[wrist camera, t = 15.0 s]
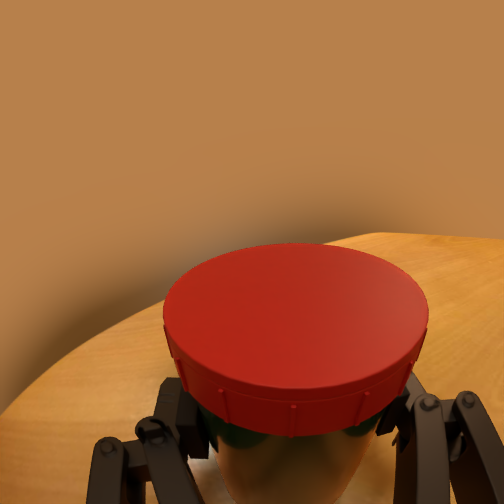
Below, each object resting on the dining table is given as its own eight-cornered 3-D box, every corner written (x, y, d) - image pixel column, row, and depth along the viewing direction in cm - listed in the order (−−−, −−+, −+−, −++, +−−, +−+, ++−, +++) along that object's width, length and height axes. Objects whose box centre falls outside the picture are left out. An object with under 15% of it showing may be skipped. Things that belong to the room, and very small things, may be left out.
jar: (197, 473, 13) (134, 312, 9) (277, 406, 18) (275, 245, 13) (299, 543, 8) (347, 447, 4) (371, 452, 13) (433, 284, 9)
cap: (130, 343, 9) (116, 298, 8) (275, 266, 14) (274, 231, 14) (340, 493, 4) (361, 455, 3) (435, 313, 9) (445, 270, 9)
